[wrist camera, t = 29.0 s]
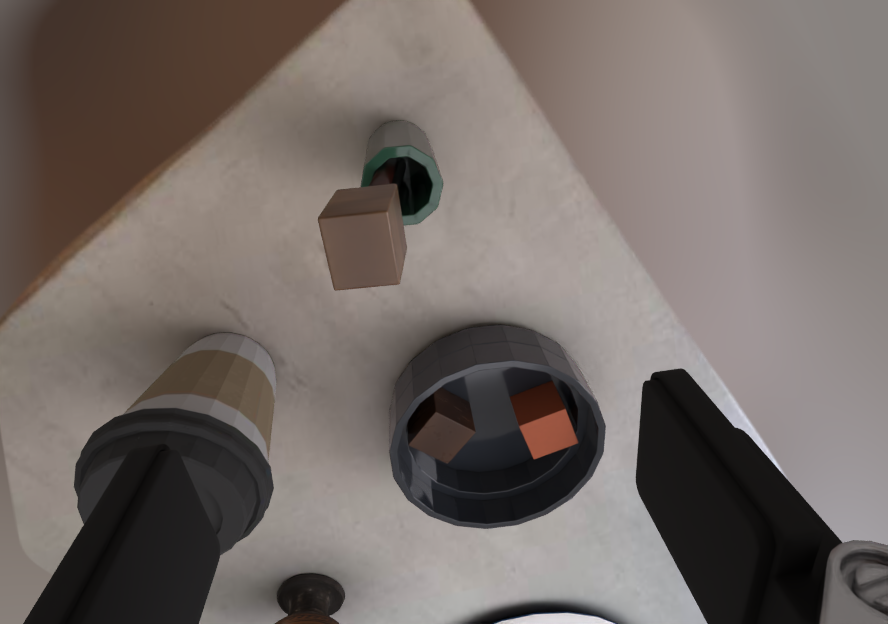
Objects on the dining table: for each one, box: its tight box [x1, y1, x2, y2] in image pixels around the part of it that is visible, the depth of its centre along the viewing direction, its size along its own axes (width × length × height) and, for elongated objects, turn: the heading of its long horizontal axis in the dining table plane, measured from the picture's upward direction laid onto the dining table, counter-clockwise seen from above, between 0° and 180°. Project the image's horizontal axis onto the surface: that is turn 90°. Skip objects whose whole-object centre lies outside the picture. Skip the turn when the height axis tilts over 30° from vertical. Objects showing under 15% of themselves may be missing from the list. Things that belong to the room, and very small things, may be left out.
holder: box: [361, 120, 443, 225], centre depth 34 cm, size 4×5×9 cm
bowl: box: [389, 325, 606, 529], centre depth 46 cm, size 17×17×6 cm
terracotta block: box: [510, 381, 578, 459], centre depth 47 cm, size 4×4×4 cm
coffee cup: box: [74, 333, 276, 555], centre depth 38 cm, size 11×11×15 cm
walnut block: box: [407, 387, 476, 464], centre depth 46 cm, size 4×4×4 cm
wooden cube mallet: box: [318, 157, 407, 290], centre depth 30 cm, size 3×3×18 cm
